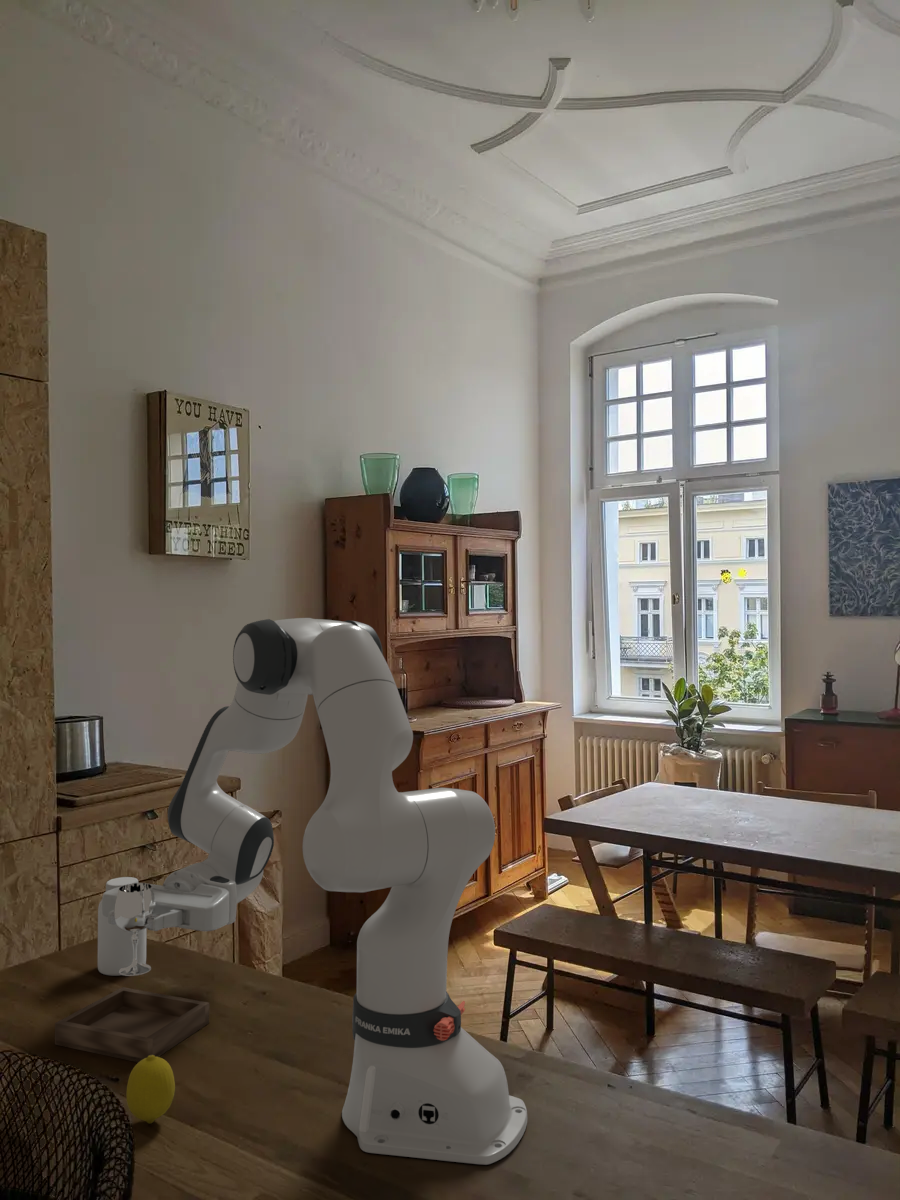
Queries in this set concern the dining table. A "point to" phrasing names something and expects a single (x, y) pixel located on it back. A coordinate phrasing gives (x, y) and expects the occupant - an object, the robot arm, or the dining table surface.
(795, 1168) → the dining table surface
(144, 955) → the pill bottle
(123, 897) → the wineglass
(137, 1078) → the lemon
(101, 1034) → the tray
